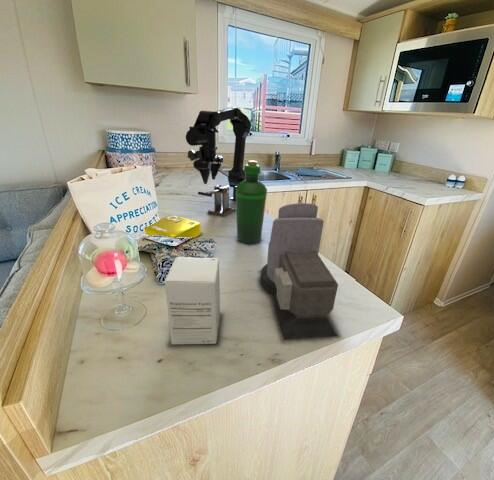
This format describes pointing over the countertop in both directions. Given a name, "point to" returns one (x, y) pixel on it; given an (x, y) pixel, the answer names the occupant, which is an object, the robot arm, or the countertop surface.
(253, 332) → the countertop surface
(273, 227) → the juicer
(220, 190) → the tap lever
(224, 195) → the tap bracket
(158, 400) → the countertop surface
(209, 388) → the countertop surface
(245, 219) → the bottle
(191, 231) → the element tile
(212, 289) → the white product box
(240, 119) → the robot arm
